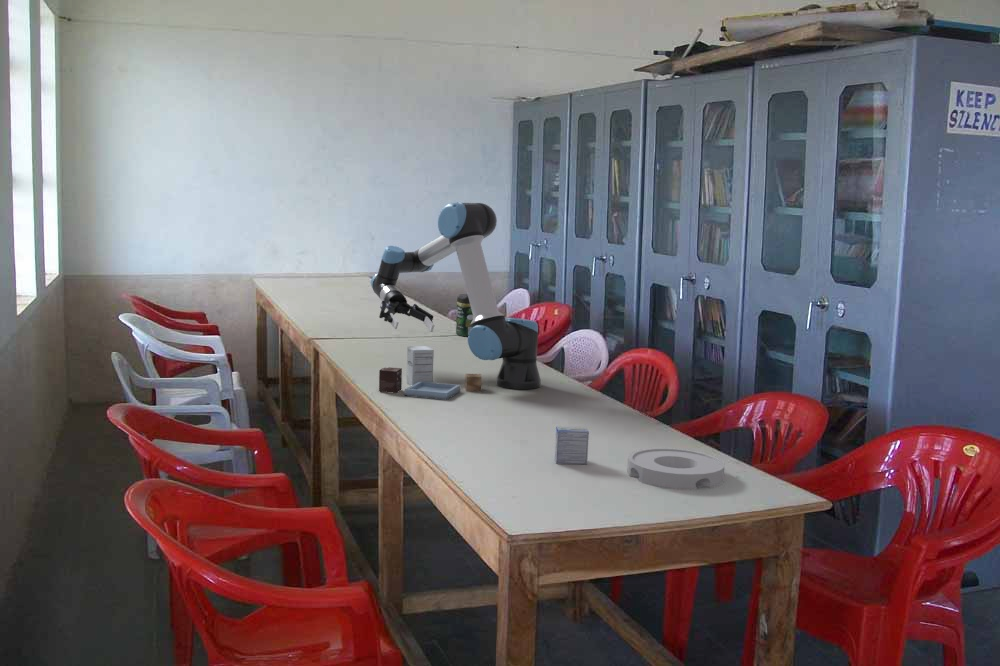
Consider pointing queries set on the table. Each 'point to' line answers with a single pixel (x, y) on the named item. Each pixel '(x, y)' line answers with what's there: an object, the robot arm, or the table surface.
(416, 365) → the supplement box
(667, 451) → the ashtray
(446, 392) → the tray
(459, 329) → the coffee jar
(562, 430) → the medicine box
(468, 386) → the walnut block
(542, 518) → the table surface
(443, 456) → the table surface
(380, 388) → the box
